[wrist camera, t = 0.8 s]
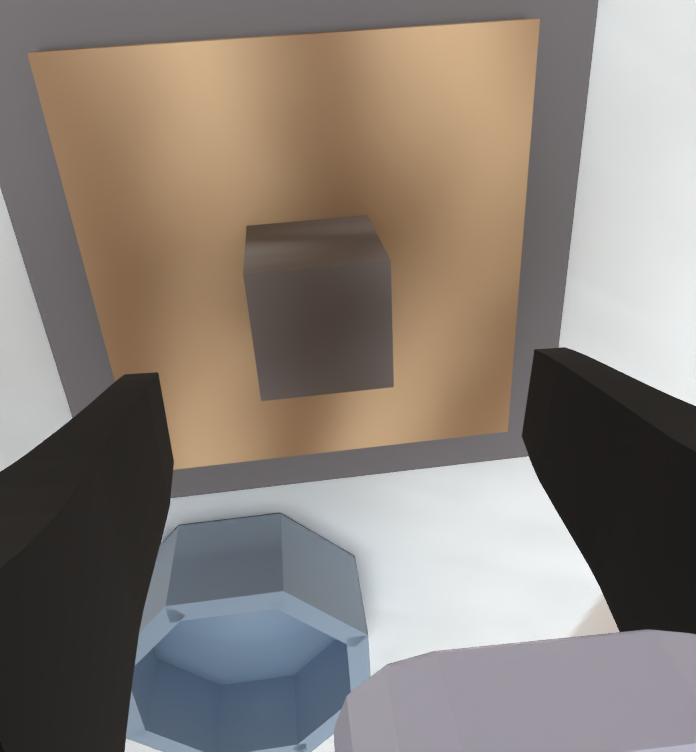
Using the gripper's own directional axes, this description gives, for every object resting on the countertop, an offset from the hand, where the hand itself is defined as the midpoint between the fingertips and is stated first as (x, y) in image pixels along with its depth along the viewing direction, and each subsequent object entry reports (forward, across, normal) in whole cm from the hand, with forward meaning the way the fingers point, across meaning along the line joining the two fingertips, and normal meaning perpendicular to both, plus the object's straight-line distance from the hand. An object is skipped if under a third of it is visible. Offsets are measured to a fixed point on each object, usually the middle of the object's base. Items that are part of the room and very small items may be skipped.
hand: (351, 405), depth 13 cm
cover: (+9, 0, 0) cm, 9 cm away
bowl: (+9, +4, +16) cm, 19 cm away
